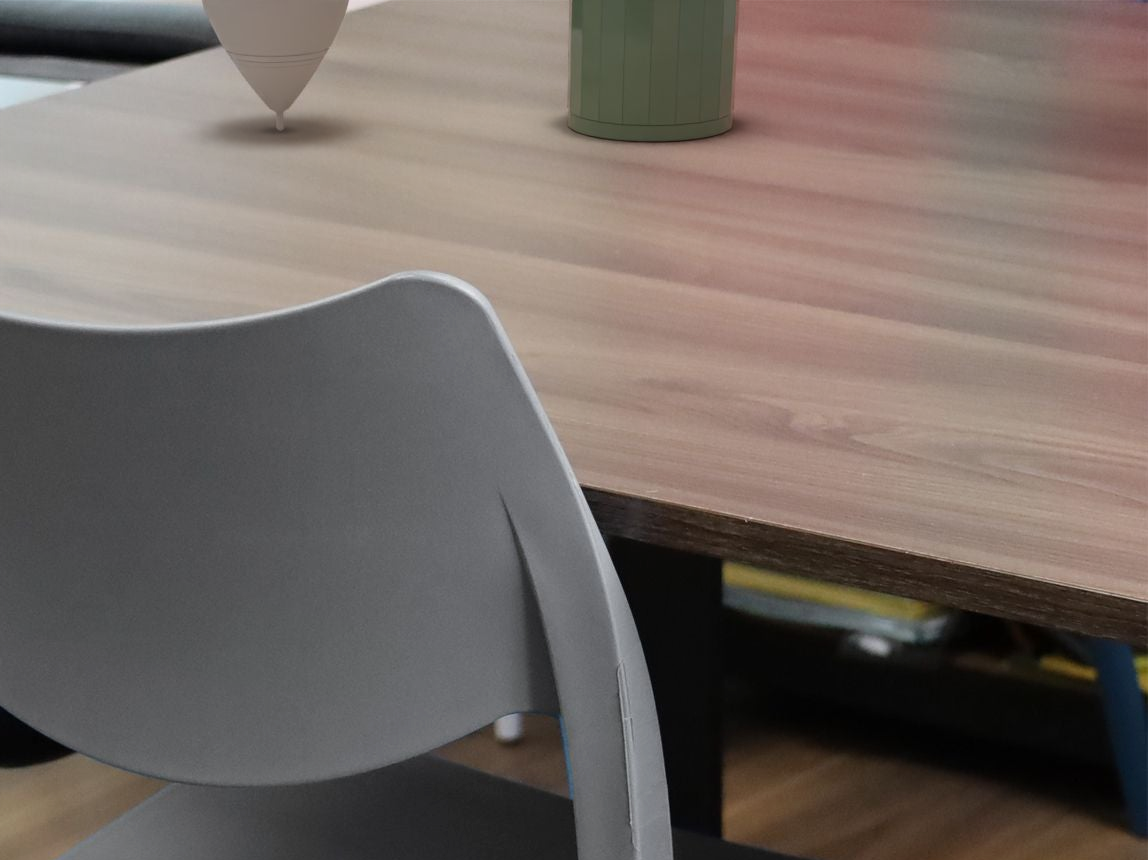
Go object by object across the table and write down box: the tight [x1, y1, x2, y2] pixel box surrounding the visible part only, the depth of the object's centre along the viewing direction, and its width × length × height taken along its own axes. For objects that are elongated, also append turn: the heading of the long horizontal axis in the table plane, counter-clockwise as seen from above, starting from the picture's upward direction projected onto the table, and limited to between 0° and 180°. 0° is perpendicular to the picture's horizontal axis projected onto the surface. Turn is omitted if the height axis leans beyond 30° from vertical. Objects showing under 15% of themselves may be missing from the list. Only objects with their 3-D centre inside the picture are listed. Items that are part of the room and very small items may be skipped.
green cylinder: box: [566, 0, 740, 142], centre depth 120 cm, size 9×9×11 cm
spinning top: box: [201, 0, 350, 132], centre depth 120 cm, size 8×8×12 cm
